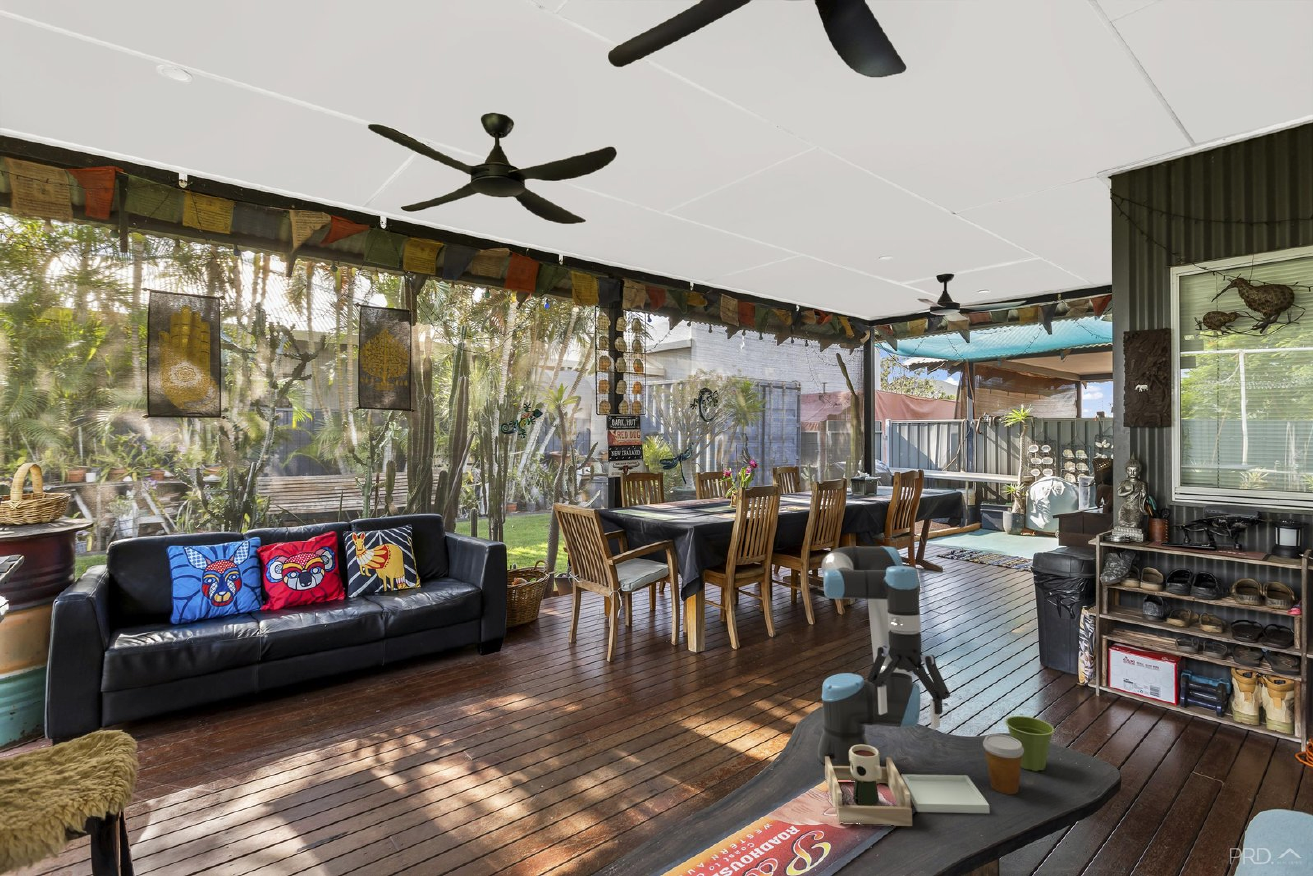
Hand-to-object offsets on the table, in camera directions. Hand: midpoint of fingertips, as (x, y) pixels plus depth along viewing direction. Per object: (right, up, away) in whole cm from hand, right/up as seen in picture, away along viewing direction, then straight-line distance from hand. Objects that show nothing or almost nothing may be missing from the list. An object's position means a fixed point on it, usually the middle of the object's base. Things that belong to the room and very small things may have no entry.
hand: (908, 720), depth 159 cm
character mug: (-8, -24, +7) cm, 26 cm away
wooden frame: (-8, -24, +7) cm, 26 cm away
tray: (+12, -23, +8) cm, 28 cm away
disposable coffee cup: (+30, -23, +12) cm, 39 cm away
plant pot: (+43, -23, +23) cm, 53 cm away
